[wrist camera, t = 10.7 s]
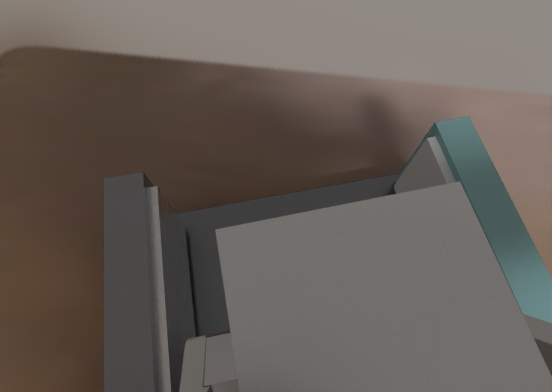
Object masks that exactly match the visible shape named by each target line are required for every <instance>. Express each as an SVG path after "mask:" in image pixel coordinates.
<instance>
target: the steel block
mask: <svg viewBox="0 0 552 392" xmlns="http://www.w3.org/2000/svg"><path fill="white" fill-rule="evenodd" d="M215 231H216V238H217V244H218V251H219V258H220V265H221V271H222V278H223V285H224V291H225V298H226V305H227V312H228V318H229V325H230V332H231V338H232V345H233V352H234V359H235V365H236V372H237V379H238V385H239V392H552V376H551V374H550V372H549V370H548V367H547V365H546V363H545V361H544V359H543V357H542V355H541V353H540V350H539V348H538V346H537V344H536V342H535V340H534V338H533V336H532V333H531V331H530V329H529V327H528V325H527V323H526V321H525V319H524V316H523V314H522V312H521V310H520V308H519V306H518V304H517V301H516V299H515V297H514V295H513V293H512V291H511V289H510V287H509V284H508V282H507V280H506V278H505V276H504V274H503V272H502V270H501V267H500V265H499V263H498V261H497V259H496V257H495V255H494V253H493V250H492V248H491V246H490V244H489V242H488V240H487V238H486V236H485V233H484V231H483V229H482V227H481V225H480V223H479V221H478V219H477V216H476V214H475V212H474V210H473V208H472V206H471V204H470V201H469V199H468V197H467V195H466V193H465V191H464V189H463V187H462V184H461V182H460V181H459V182H454V183H449V184H444V185H439V186H434V187H429V188H424V189H419V190H414V191H408V192H403V193H398V194H393V195H388V196H383V197H378V198H373V199H368V200H363V201H358V202H353V203H348V204H342V205H337V206H332V207H327V208H322V209H317V210H312V211H307V212H302V213H297V214H292V215H287V216H282V217H276V218H271V219H266V220H261V221H256V222H251V223H246V224H241V225H236V226H231V227H226V228H221V229H216V230H215Z"/></svg>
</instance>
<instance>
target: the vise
mask: <svg viewBox="0 0 552 392" xmlns="http://www.w3.org/2000/svg"><path fill="white" fill-rule="evenodd" d="M399 174H400V173H399ZM399 174H393V175H387V176H382V177H376V178H371V179H365V180H360V181H354V182H349V183H343V184H338V185H332V186H327V187H321V188H315V189H310V190H304V191H299V192H293V193H288V194H282V195H277V196H271V197H266V198H260V199H255V200H249V201H243V202H238V203H232V204H227V205H221V206H216V207H210V208H205V209H199V210H194V211H188V212H183V213H176V212H175V210H174V209H173V208H172V206H171V205H170V203H169V202H168V201H167V199H166V198H165V196H164V195H163V193H162V192H161V191H160V189H159V188H158V186H153V185H152V183H151V182H150V181H149V179H148V178H147V176H146V175H145V174H144V172H138V173H132V174H127V175H121V176H115V177H109V178H104V392H179V390H180V381H181V373H182V365H183V357H184V349H185V343H186V341H187V339H189V338H194V337H199V336H204V335H207V334H212V333H217V332H223V331H228V330H230V325H229V318H228V312H227V305H226V298H225V291H224V285H223V278H222V271H221V265H220V258H219V251H218V244H217V238H216V231H215V230H216V229H221V228H226V227H231V226H236V225H241V224H246V223H251V222H256V221H261V220H266V219H271V218H276V217H282V216H287V215H292V214H297V213H302V212H307V211H312V210H317V209H322V208H327V207H332V206H337V205H342V204H348V203H353V202H358V201H363V200H368V199H373V198H378V197H383V196H388V195H393V194H396V192H395V189H394V185H395V180H396V179H397V177H398V176H399Z"/></svg>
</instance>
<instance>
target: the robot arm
mask: <svg viewBox="0 0 552 392" xmlns="http://www.w3.org/2000/svg"><path fill="white" fill-rule="evenodd" d="M522 314H523V313H522ZM523 316H524V319H525V321H526V323H527V325H528V327H529V329H530V331H531V333H532V336H533V338H534V340H535V342H536V344H537V346H538V348H539V350H540V353H541V355H542V357H543V359H544V361H545V363H546V365H547V367H548V370H549V372H550V374H551V376H552V323H549V322H546V321H543V320H541V319H538V318H535V317H532V316H529V315H526V314H523ZM179 392H239V385H238V379H237V372H236V365H235V359H234V352H233V345H232V338H231V332H230V330H228V331H223V332H217V333H212V334H207V335H204V336H199V337H194V338H189V339H187V341H186V343H185V349H184V357H183V365H182V373H181V381H180V390H179Z"/></svg>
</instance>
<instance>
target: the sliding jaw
mask: <svg viewBox="0 0 552 392" xmlns="http://www.w3.org/2000/svg"><path fill="white" fill-rule="evenodd" d="M459 181H460V182H461V184H462V187H463V189H464V191H465V193H466V195H467V197H468V199H469V201H470V204H471V206H472V208H473V210H474V212H475V214H476V216H477V219H478V221H479V223H480V225H481V227H482V229H483V231H484V233H485V236H486V238H487V240H488V242H489V244H490V246H491V248H492V250H493V253H494V255H495V257H496V259H497V261H498V263H499V265H500V267H501V270H502V272H503V274H504V276H505V278H506V280H507V282H508V284H509V287H510V289H511V291H512V293H513V295H514V297H515V299H516V301H517V304H518V306H519V308H520V310H521V312H522V313H523V314H526V315H529V316H532V317H535V318H538V319H541V320H543V321H546V322H549V323H552V278H551V276H550V275H549V273H548V271H547V269H546V267H545V265H544V263H543V261H542V259H541V257H540V255H539V253H538V251H537V249H536V247H535V245H534V243H533V241H532V239H531V237H530V235H529V233H528V231H527V229H526V227H525V225H524V223H523V222H522V220H521V218H520V216H519V214H518V212H517V210H516V208H515V206H514V204H513V202H512V200H511V198H510V196H509V194H508V192H507V190H506V188H505V186H504V184H503V182H502V180H501V178H500V176H499V174H498V172H497V170H496V168H495V167H494V165H493V163H492V161H491V159H490V157H489V155H488V153H487V151H486V149H485V147H484V145H483V143H482V141H481V139H480V137H479V135H478V133H477V131H476V129H475V127H474V125H473V123H472V121H471V119H470V117H469V116H467V117H462V118H456V119H450V120H444V121H438V122H435V123H434V124H433V126H432V127H431V129H430V130H429V132H428V133H427V134H426V136H425V137H424V139H423V140H422V142H421V143H420V145H419V146H418V148H417V149H416V151H415V152H414V154H413V155H412V157H411V158H410V159H409V161H408V162H407V164H406V165H405V167H404V168H403V170H402V171H401V173H400V174H399V176H398V177H397V179H396V180H395V185H394V189H395V192H396V194H398V193H403V192H408V191H414V190H419V189H424V188H429V187H434V186H439V185H444V184H449V183H454V182H459Z"/></svg>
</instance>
